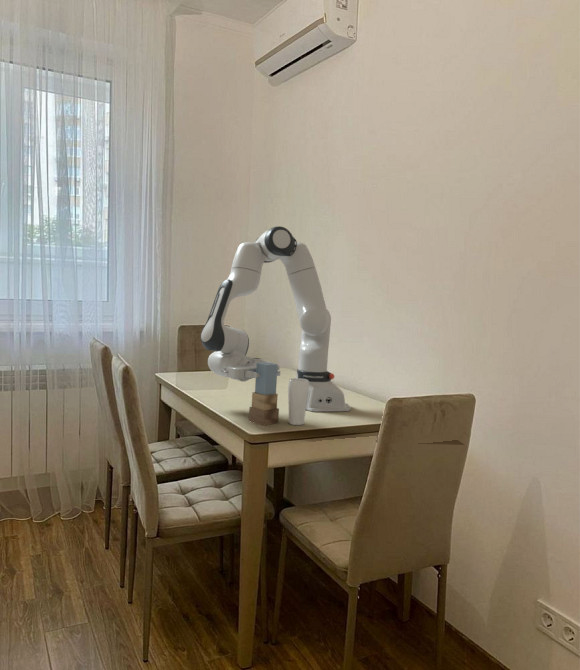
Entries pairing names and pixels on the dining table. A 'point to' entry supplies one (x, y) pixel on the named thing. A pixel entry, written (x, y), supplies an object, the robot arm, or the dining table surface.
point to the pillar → (266, 378)
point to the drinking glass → (297, 400)
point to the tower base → (263, 416)
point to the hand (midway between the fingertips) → (268, 374)
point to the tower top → (264, 401)
